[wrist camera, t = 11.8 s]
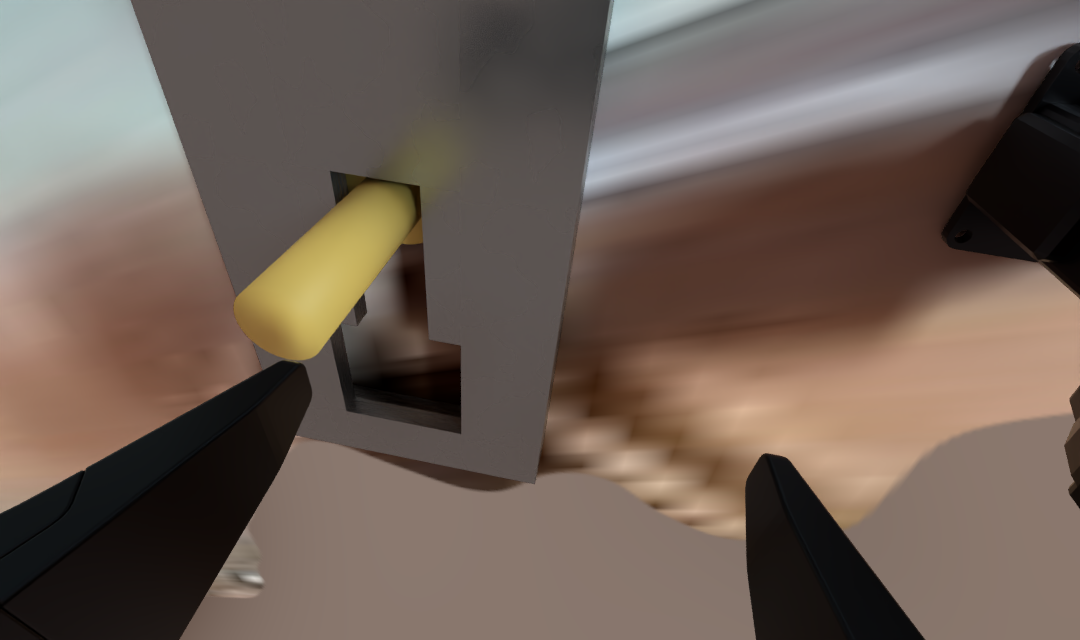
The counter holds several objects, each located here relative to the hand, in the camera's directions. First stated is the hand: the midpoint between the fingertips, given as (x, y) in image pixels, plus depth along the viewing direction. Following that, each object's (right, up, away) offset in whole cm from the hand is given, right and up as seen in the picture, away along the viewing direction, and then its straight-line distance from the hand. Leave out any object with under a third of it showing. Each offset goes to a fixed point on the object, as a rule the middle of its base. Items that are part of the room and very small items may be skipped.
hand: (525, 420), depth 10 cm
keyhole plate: (-5, +5, +13) cm, 15 cm away
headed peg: (-5, +8, +11) cm, 14 cm away
